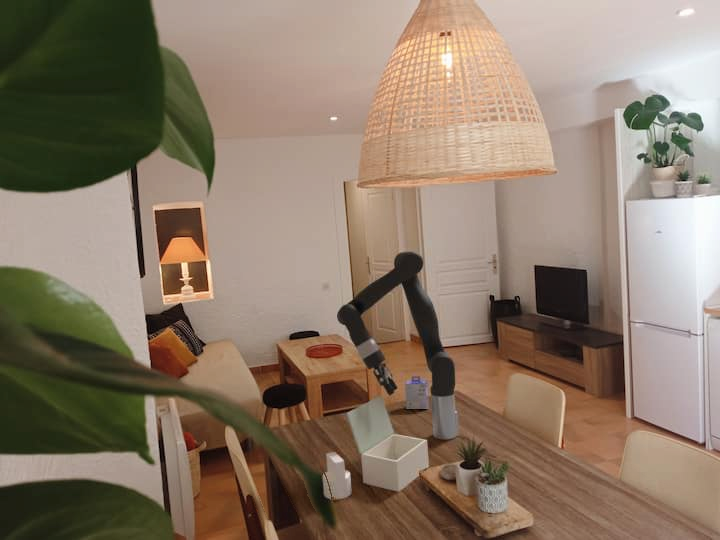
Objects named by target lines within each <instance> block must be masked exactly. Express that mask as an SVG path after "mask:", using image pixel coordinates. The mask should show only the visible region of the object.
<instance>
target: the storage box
mask: <svg viewBox="0 0 720 540" xmlns="http://www.w3.org/2000/svg"><path fill="white" fill-rule="evenodd" d="M360 457H361V469H362V470H361V471H362V483H363V484H365V483H366V485H369V486H374V487H378V488H382V489H386V490H390V491H394V492H399V493H400V492H401V491H402V490H403V489H405V488H406V487H407V486H408V485H409V484H410V483H412V482H413V481H414V480H416V479H417V478H418V477H419V476H420V475H419V471H420V470H423V469H425V468H428V467H429V468H430V464H429V463H430V462H429V448H428V439H423V438H418V437H413V436H407V435H401V434H395V433H393V434H391V435H390V436H388V437H386V438H385V439H383V440H382V441H380V442H379V443H377V444H376V445H374V446H372V447H371V448H369V449H368V450H366V451H365V452H363V453H361V455H360ZM429 468H428V469H429Z"/></svg>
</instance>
